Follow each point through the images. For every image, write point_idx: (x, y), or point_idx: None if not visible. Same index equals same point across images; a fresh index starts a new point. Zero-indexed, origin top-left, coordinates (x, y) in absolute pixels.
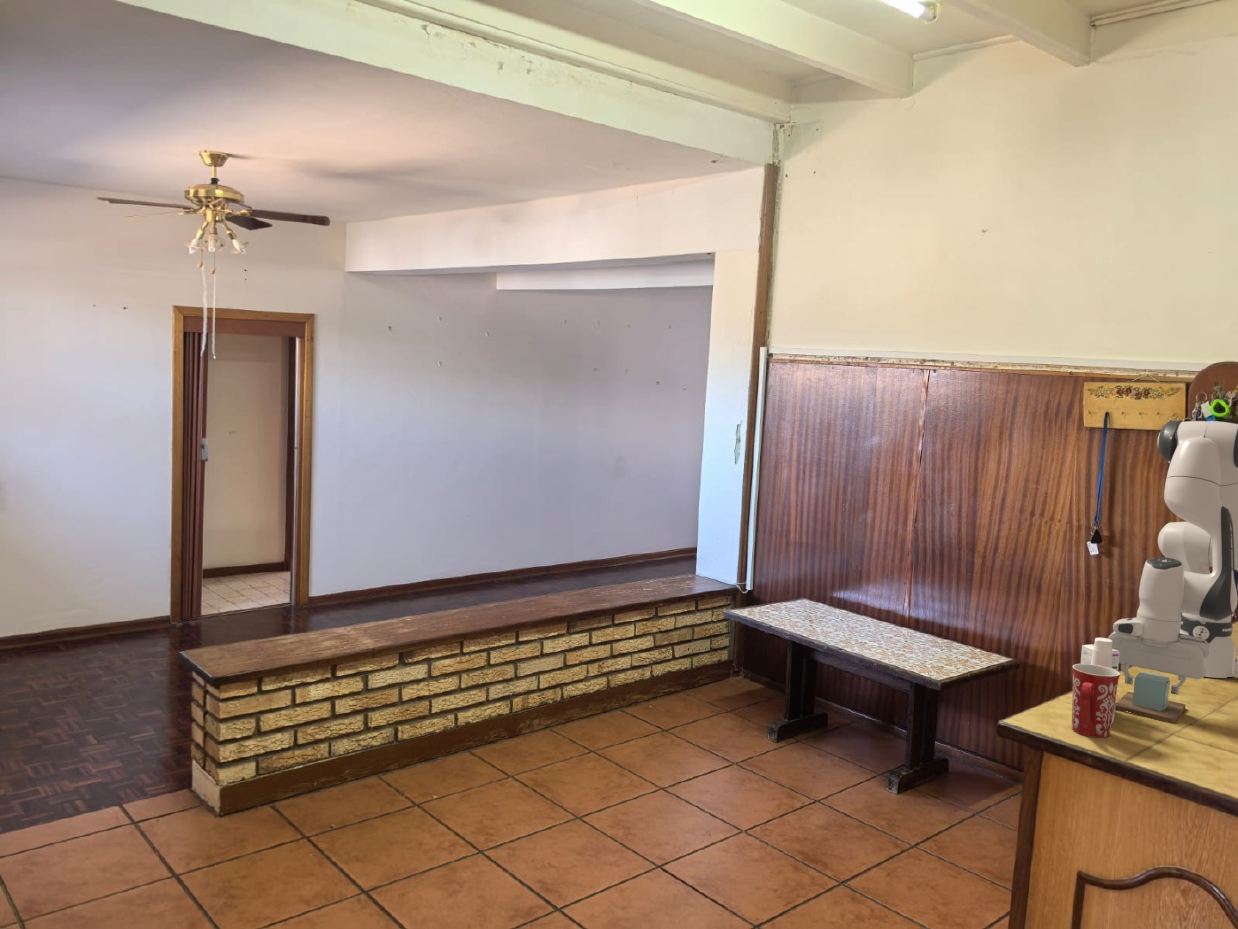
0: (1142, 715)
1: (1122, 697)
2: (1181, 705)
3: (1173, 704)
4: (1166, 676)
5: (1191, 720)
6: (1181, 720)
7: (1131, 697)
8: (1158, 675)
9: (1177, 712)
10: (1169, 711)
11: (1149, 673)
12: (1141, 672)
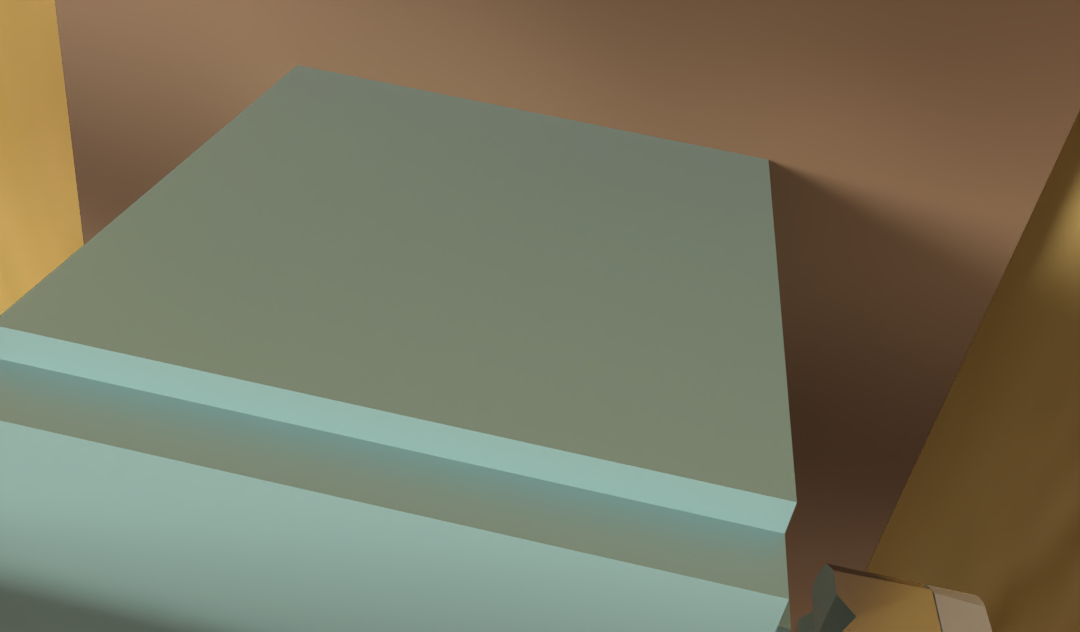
0: None
1: (82, 188)
2: (1063, 23)
3: (898, 62)
4: (691, 589)
5: (1066, 481)
6: (913, 542)
7: (185, 94)
8: (455, 600)
9: (885, 486)
10: None
11: (198, 540)
12: (4, 554)
